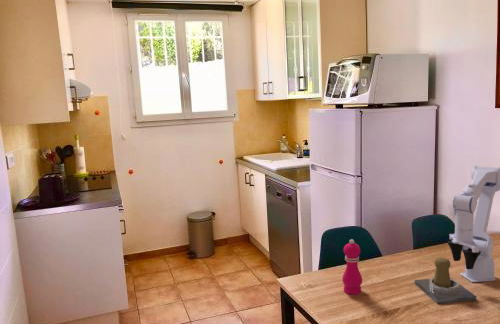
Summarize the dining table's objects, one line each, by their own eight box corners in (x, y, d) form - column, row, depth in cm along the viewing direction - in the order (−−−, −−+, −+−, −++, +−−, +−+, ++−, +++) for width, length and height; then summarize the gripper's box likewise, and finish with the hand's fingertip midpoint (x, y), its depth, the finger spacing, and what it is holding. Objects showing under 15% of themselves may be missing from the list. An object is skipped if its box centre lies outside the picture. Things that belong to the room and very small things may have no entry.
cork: (453, 291, 141) (454, 262, 140) (435, 291, 142) (436, 261, 141) (448, 284, 147) (448, 255, 146) (430, 283, 148) (431, 255, 147)
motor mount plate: (449, 280, 153) (449, 272, 153) (476, 300, 138) (476, 290, 137) (414, 283, 152) (414, 274, 152) (437, 303, 137) (437, 294, 136)
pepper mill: (363, 287, 151) (362, 236, 148) (361, 296, 144) (361, 243, 142) (343, 285, 153) (342, 235, 151) (341, 294, 147) (340, 242, 144)
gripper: (442, 223, 149) (441, 257, 151) (465, 235, 135) (464, 273, 137) (460, 222, 150) (459, 256, 152) (485, 233, 135) (484, 272, 137)
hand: (463, 264), depth 144 cm, fingers open, 7 cm apart
